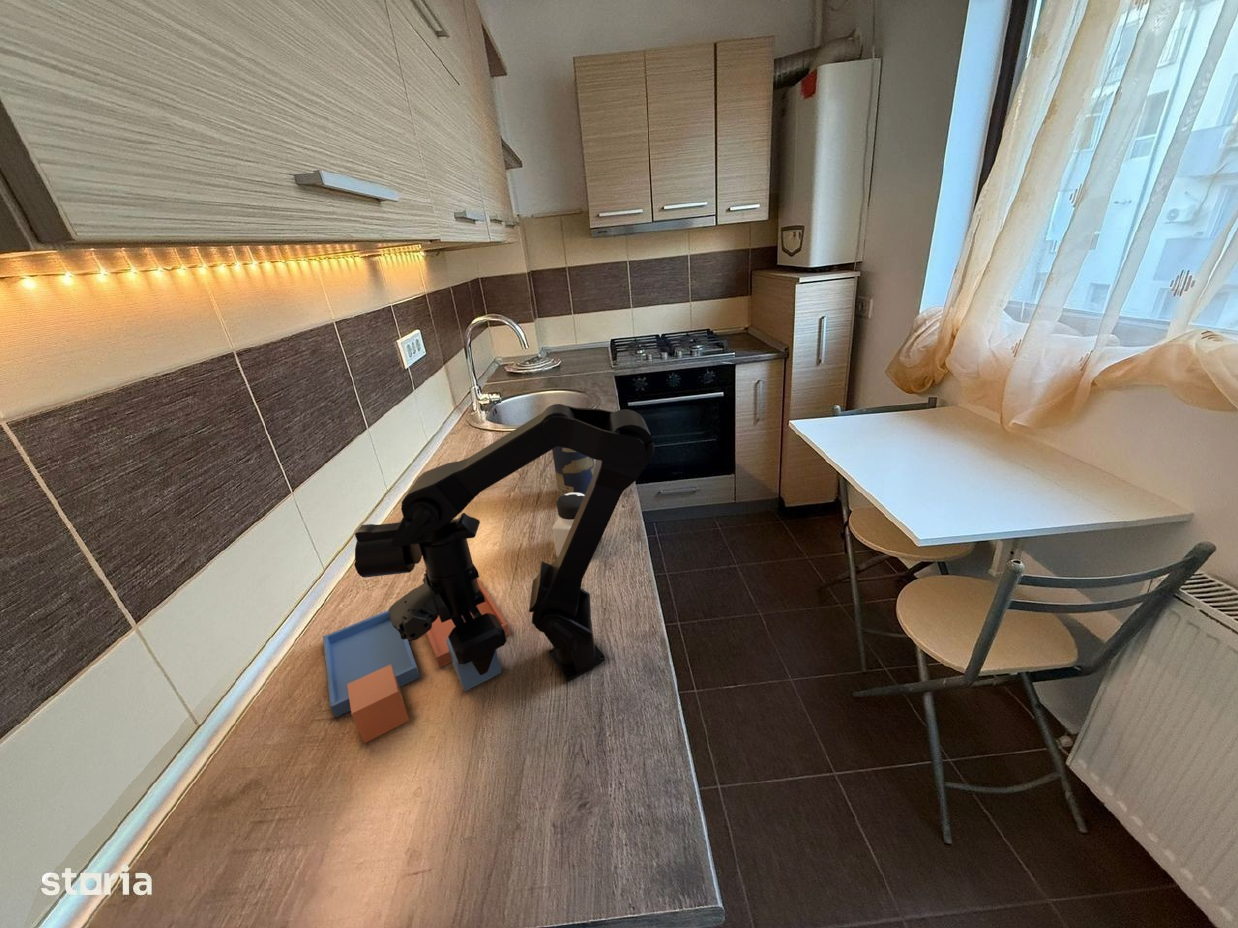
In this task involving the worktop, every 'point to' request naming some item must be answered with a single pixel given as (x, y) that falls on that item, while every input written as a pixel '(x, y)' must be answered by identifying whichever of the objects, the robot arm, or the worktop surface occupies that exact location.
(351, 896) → the worktop surface
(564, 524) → the medicine bottle
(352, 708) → the terracotta block
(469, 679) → the blue block
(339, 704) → the blue tray
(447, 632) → the terracotta tray
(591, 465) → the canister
